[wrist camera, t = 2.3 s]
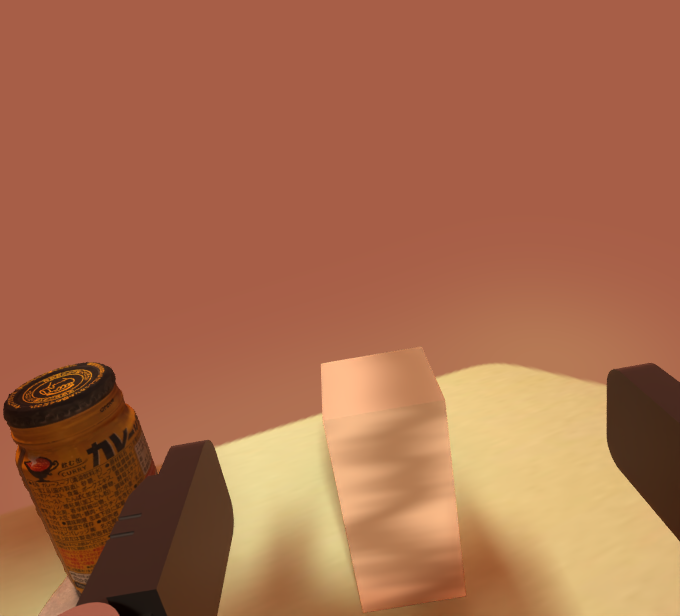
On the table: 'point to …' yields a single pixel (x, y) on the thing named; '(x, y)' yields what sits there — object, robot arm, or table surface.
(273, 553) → the table surface
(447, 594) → the maple block
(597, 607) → the table surface
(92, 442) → the condiment
